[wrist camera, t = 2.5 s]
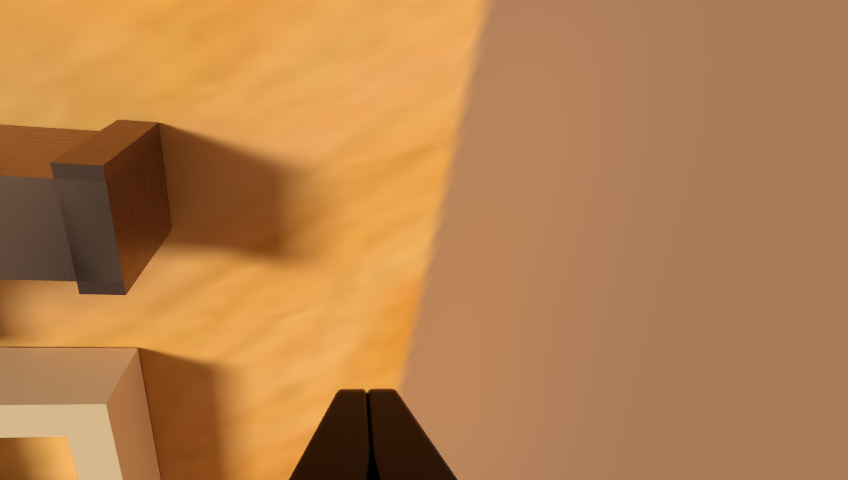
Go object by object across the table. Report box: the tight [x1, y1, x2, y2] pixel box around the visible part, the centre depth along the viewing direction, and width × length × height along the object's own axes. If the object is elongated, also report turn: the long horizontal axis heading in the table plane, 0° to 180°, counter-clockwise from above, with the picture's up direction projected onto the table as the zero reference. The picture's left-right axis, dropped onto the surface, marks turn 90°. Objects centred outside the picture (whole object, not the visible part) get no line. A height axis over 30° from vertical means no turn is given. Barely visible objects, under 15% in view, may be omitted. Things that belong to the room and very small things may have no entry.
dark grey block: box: [0, 120, 171, 295], centre depth 13 cm, size 3×5×4 cm, turn 84°
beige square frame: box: [0, 347, 161, 480], centre depth 17 cm, size 8×8×2 cm
